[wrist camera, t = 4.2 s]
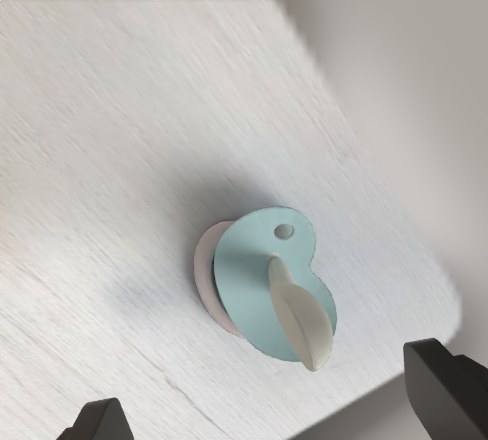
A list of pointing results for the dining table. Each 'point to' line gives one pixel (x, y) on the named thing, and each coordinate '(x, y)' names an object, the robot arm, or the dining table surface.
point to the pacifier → (267, 285)
